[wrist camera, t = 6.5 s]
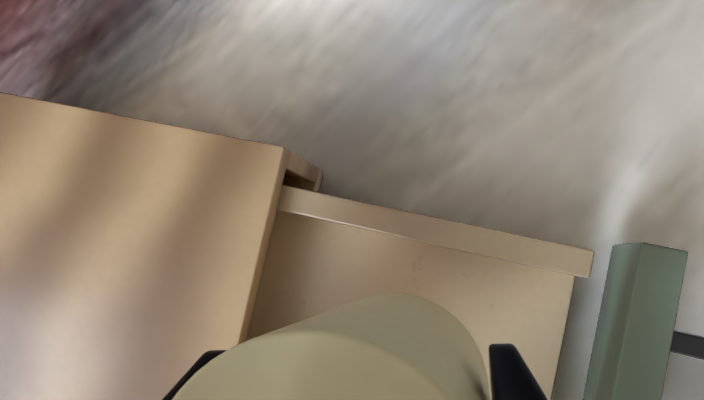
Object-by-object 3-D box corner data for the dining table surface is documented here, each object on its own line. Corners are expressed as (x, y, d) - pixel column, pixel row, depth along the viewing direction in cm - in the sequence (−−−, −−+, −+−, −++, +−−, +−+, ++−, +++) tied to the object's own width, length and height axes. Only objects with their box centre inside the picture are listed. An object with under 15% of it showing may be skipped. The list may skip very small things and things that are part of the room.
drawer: (794, 282, 17) (865, 287, 14) (737, 612, 16) (798, 692, 13) (275, 175, 21) (242, 160, 18) (213, 437, 20) (168, 469, 17)
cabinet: (323, 170, 21) (284, 146, 17) (258, 459, 20) (198, 517, 16) (24, 111, 24) (-78, 76, 20) (-41, 359, 24) (-163, 383, 19)
